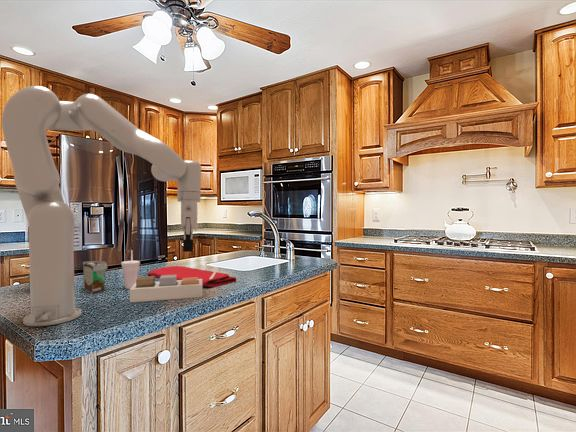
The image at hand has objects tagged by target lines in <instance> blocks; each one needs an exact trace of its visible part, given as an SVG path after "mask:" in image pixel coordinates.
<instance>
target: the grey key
mask: <svg viewBox="0 0 576 432" xmlns="http://www.w3.org/2000/svg"><path fill="white" fill-rule="evenodd" d="M159 281H160V286H173V285H177V275H161V277H160V278H159Z"/></svg>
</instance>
